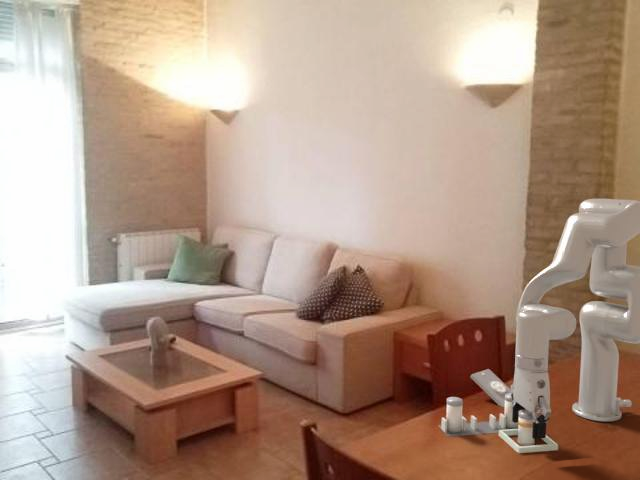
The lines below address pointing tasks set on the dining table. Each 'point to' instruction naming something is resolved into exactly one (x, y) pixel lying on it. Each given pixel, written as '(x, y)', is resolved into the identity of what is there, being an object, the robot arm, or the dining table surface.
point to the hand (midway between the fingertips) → (528, 429)
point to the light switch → (492, 386)
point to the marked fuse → (525, 428)
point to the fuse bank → (475, 420)
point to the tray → (525, 449)
